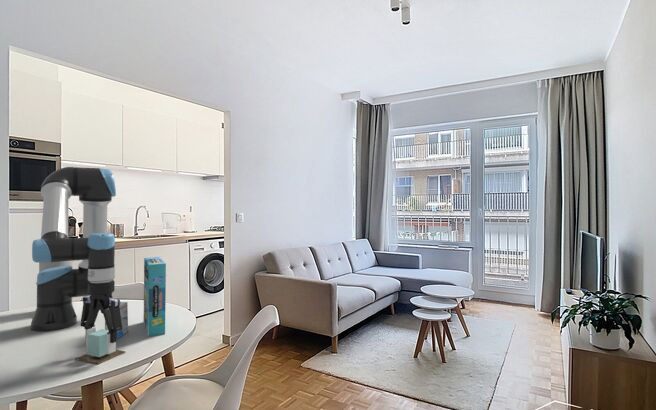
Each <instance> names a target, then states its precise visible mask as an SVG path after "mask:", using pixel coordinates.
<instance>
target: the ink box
mask: <svg viewBox="0 0 656 410" xmlns="http://www.w3.org/2000/svg"><path fill="white" fill-rule="evenodd" d="M128 306H129V305H128V301H120V306H119V307H120V314H121V321H122V330H119V331H117V340H119V339H120V338H122V337H123V336H124V335H125V334H127V333H128V332H129V315H128V314H129V313H128V312H129V311H128V308H129V307H128ZM108 309H109V308H108ZM106 310H107V309H106ZM112 329H113V328H112ZM104 330H108V328H107V324H106V321H105V320H104Z"/></svg>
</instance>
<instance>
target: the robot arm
mask: <svg viewBox="0 0 656 410" xmlns="http://www.w3.org/2000/svg"><path fill="white" fill-rule="evenodd" d="M113 173H114V172H113V171H112V170H111V169H109V168H101V167H80V166H79V167H77V166H65V167H62V168H58V169H56V170H54V171H53V172H51V173H49V175H47V177H45V179H44V180H43V182H42V184H41V186H40V195H41V198H42V199H43V204H42V205H43V206H42V219H41V220H42V221H41V233H40V238H39V239H34V240H33V241H32V245H31V246H32V247H31V258H32V261H33V262H34V263H38V264H39V263H43V262H48V263H50V262H60V261H73V262H74V261H81V262H79V264H78V267H77V268H73V269H72V266H60V267H54V268H50V269H46V270H43V271H41V272H39V271H38V273H37V276H36V282H35V284H36V309H35V312H34V314H33V317H32V319H31V323H30V329H31V330H32V331H37V332H42V331H43V332H44V331H45V332H49V331H54V330H60V329H64V328H68V327H72V326H74V325H75V324H76V323H77V321H78V320H77V319H78V317H77V314H76V312H75V309H74V305H73V298H81V297H83V298H82V309H81V310H82V311H81V316H80V317H81V318H80V324H79V325H80V327H81V328H82V327H83V328H84V330H85V343H86V344H85V349H86V351H88V334H90V333H93V332H96V331H97V330H96V325H95V323H96V320H97V318H98V315H99V312H100V313H101V314H103V318H104V322H105V321H106V324H107V328H108V331H109V332H108V333H107V354H110V353H112V352H115V351H116V350H117V341H118V339H117V331H119V330H122V321H121V314H120V307H119V306H120V302H121V300H120V298H117V299H115V298H114V297H113V293H114V292H115V287H116V285H115V280H114V279H115V278H116V275H115V274H116V272H115V270H116V267H115V258H116V257H115V255H116V253H115V252H116V251H115V249H116V248H115V247H116V246H115V245H116V241H115V237H116V236H115V234H114V233H112V232H108V205H109V204H110V203H111V202H112V200H113V198H115V197H116V196H117V195H116V194H117V192H116V191H117V190H116V182H115V177H114V174H113ZM71 197H78V200H79V202H80V203H81V204H82V205H83V206H82V211H83V212H82V213H83V214H82V215H83V216H82V237H69V200H70V199H71ZM108 308H109V309H108ZM106 309H107V310H106ZM112 328H113V329H112Z"/></svg>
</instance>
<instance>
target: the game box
mask: <svg viewBox="0 0 656 410" xmlns="http://www.w3.org/2000/svg"><path fill="white" fill-rule="evenodd" d="M143 262H144V263H143V324H144V328H145V331H146V335H147V337H155V336H161V335H166V287H167V284H166V283H167V280H166V279H167V277H166V276H167V269H166V268H167V264H166V262H165V261H164V260H163V259H162V258H161V257H160V256H151V257H144V258H143Z"/></svg>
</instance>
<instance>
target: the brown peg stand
mask: <svg viewBox="0 0 656 410" xmlns="http://www.w3.org/2000/svg"><path fill="white" fill-rule="evenodd" d="M125 353H127V352H126V351H125V350H121V349H116V351H115V352H112V353H110V354H106V355H103V356H101V357H96V356H91V355H88V353H86V354H83V355H81V356H77V357H74V360H75V361H80V362H85V363H90V364H94V365H101V364H102V363H104V362H106V361H109V360H111V359H114V358H116V357H119V356H121V355H124V354H125Z"/></svg>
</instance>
